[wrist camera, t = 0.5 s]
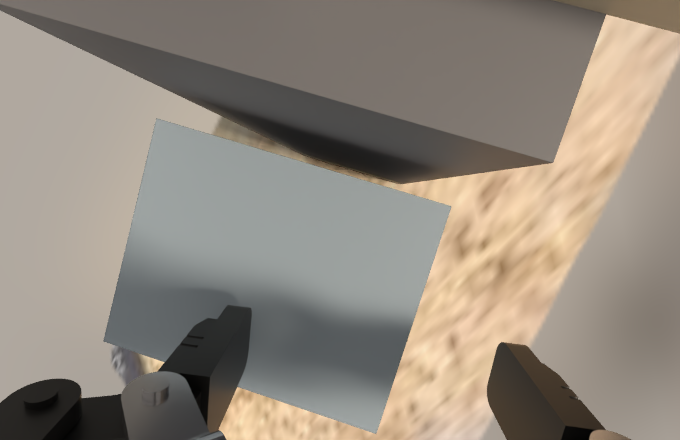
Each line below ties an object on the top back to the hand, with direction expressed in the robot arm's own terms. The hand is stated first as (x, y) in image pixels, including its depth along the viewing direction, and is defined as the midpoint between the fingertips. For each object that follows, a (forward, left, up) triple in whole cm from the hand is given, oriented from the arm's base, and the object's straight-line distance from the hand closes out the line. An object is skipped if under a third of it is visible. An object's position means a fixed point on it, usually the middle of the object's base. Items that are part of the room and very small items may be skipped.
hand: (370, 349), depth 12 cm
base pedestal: (-1, -4, -26) cm, 27 cm away
